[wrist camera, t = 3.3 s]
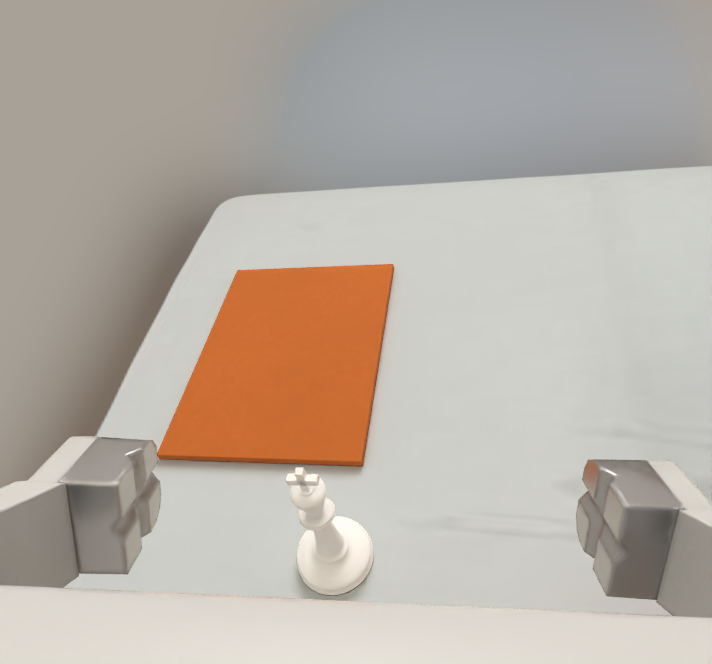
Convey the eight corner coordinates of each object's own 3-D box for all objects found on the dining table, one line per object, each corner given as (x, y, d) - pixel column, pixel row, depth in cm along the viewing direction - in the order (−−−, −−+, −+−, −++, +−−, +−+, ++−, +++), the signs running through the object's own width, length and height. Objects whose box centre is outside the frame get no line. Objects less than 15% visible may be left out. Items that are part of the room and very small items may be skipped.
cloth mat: (238, 274, 61) (237, 270, 61) (394, 268, 58) (393, 263, 57) (159, 459, 46) (156, 455, 46) (362, 466, 43) (361, 461, 42)
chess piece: (369, 597, 36) (338, 516, 29) (290, 593, 37) (242, 512, 30) (377, 521, 39) (351, 432, 32) (305, 519, 40) (265, 432, 34)
